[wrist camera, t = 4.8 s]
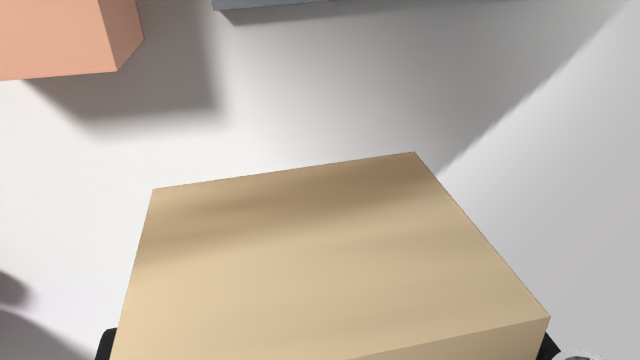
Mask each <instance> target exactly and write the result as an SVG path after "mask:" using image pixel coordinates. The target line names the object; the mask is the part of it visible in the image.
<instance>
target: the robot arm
mask: <svg viewBox="0 0 640 360" xmlns="http://www.w3.org/2000/svg"><path fill="white" fill-rule="evenodd" d="M116 332H117V328H112V329H108V330H106V331H105V332H104V333H103V335H102V338H101V340H100V344H99V347H98V350H97V354H96V357H95V360H109V359H110V355H111V351H112V347H113V343H114V340H115V336H116ZM536 360H606V359H604V358H602V357H599V356H597V355H595V354H593V353H590V352H586V351H582V350H566V351H563V352H561V351H560V349H559V348H558V347H557V345H556V344H555V343H554V342H553V340H552V339H551V338H550V337H549V335H548V334H547V333H546V331H545V334H544V337H543V340H542V343H541V345H540V348H539V351H538V354H537V357H536Z"/></svg>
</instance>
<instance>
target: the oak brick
mask: <svg viewBox="0 0 640 360" xmlns="http://www.w3.org/2000/svg"><path fill="white" fill-rule="evenodd" d="M549 320H550V315H549V314H548V313H547V311H546V310H545V309H544V308H543V307H542V305H540V303H539V302H538V301H537V299H536V298H535V297H534V296H533V295H532V293H531V292H530V291H529V290H528V288H527V287H526V286H525V285H524V284H523V282H522V281H521V280H520V279H519V278H518V277H517V275H516V274H515V273H514V272H513V270H512V269H511V268H510V267H509V266H508V264H507V263H506V262H505V261H504V260H503V258H502V257H501V256H500V255H499V253H498V252H497V251H496V250H495V249H494V247H493V246H492V245H491V244H490V243H489V242H488V240H487V239H486V238H485V237H484V235H483V234H482V233H481V232H480V231H479V229H478V228H477V227H476V226H475V225H474V223H473V222H472V221H471V220H470V219H469V217H468V216H467V215H466V214H465V212H464V211H463V210H462V209H461V208H460V207H459V205H458V204H457V203H456V202H455V200H454V199H453V198H452V197H451V195H450V194H449V193H448V192H447V191H446V189H445V188H444V187H443V186H442V185H441V183H440V182H439V181H438V180H437V179H436V177H435V176H434V175H433V174H432V173H431V171H430V170H429V169H428V168H427V166H426V165H425V164H424V163H423V162H422V160H421V159H420V158H419V157H418V156H417V154H416V153H415V152H408V153H401V154H394V155H387V156H380V157H373V158H366V159H359V160H352V161H345V162H338V163H331V164H324V165H317V166H310V167H303V168H296V169H289V170H283V171H276V172H269V173H262V174H255V175H248V176H241V177H234V178H227V179H220V180H213V181H206V182H199V183H192V184H185V185H178V186H171V187H165V188H158V189H153V192H152V195H151V199H150V203H149V207H148V211H147V215H146V219H145V223H144V227H143V231H142V234H141V238H140V242H139V246H138V250H137V254H136V258H135V262H134V266H133V269H132V273H131V277H130V281H129V285H128V289H127V293H126V297H125V301H124V304H123V308H122V312H121V316H120V320H119V324H118V328H117V332H116V336H115V340H114V343H113V347H112V351H111V355H110V359H109V360H536V357H537V354H538V351H539V348H540V345H541V343H542V340H543V337H544V334H545V331H546V329H547V326H548V323H549Z"/></svg>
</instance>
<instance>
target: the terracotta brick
mask: <svg viewBox="0 0 640 360" xmlns="http://www.w3.org/2000/svg"><path fill="white" fill-rule="evenodd" d="M143 41H144V36H143V32H142V27H141V23H140V19H139V15H138V11H137V6H136V2H135V0H0V81H5V80H18V79H30V78H42V77H54V76H66V75H79V74H91V73H103V72H115V71H118V70H119V69H120V68H121V66H122V65H123V64H124V63H125V62H126V61H127V59H128V58H129V57H130V56H131V55H132V54H133V53H134V51H135V50H136V49H137V48H138V47H139V46H140V44H141V43H142V42H143Z"/></svg>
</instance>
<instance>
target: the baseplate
mask: <svg viewBox="0 0 640 360" xmlns="http://www.w3.org/2000/svg"><path fill="white" fill-rule="evenodd" d="M321 1H332V0H212V4H213V10H226V9H238V8H250V7H261V6H273V5H285V4H297V3H309V2H321Z"/></svg>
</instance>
